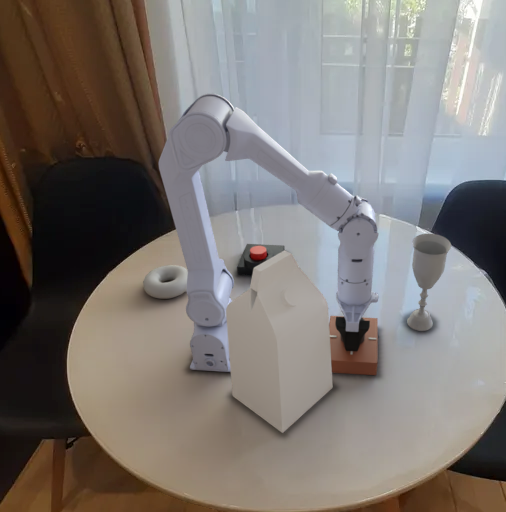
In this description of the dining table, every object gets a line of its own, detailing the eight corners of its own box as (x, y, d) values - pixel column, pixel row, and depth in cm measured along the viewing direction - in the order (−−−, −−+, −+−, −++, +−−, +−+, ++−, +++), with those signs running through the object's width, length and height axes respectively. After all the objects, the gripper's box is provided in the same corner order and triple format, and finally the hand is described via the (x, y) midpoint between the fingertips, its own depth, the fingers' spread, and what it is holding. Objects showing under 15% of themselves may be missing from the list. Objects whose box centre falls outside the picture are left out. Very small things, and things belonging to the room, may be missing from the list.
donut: (183, 304, 100) (199, 275, 108) (180, 290, 98) (197, 262, 106) (137, 300, 100) (156, 272, 108) (133, 287, 98) (152, 260, 106)
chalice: (436, 337, 92) (450, 257, 82) (400, 331, 93) (410, 252, 83) (437, 313, 98) (451, 235, 87) (404, 308, 99) (413, 231, 88)
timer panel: (376, 375, 84) (377, 362, 82) (324, 372, 84) (324, 359, 83) (376, 330, 94) (377, 317, 92) (330, 327, 94) (330, 314, 92)
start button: (265, 261, 106) (264, 254, 105) (249, 260, 106) (248, 253, 105) (268, 252, 109) (267, 245, 108) (252, 251, 109) (251, 245, 108)
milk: (283, 356, 87) (274, 230, 72) (332, 387, 82) (334, 257, 66) (232, 395, 80) (210, 263, 65) (282, 433, 74) (271, 297, 59)
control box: (277, 279, 107) (276, 263, 105) (237, 277, 108) (235, 261, 105) (284, 253, 116) (284, 238, 113) (247, 251, 116) (246, 237, 114)
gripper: (379, 301, 73) (374, 366, 81) (379, 251, 85) (375, 311, 93) (333, 299, 73) (332, 363, 81) (339, 249, 85) (338, 309, 93)
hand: (352, 335), depth 87 cm, fingers open, 7 cm apart
